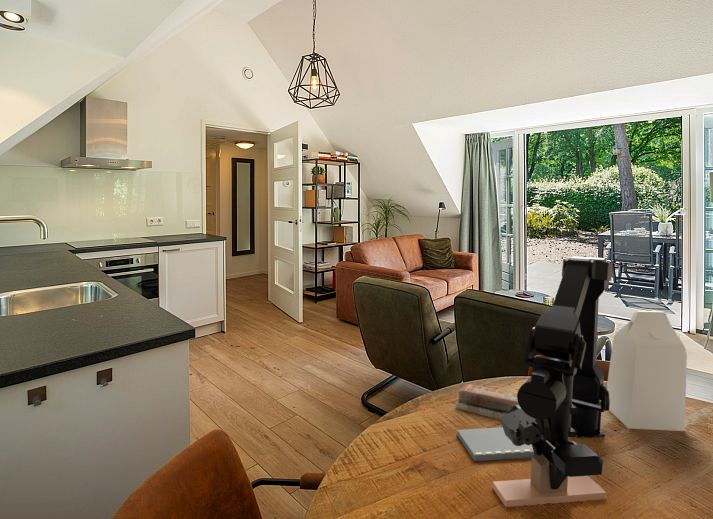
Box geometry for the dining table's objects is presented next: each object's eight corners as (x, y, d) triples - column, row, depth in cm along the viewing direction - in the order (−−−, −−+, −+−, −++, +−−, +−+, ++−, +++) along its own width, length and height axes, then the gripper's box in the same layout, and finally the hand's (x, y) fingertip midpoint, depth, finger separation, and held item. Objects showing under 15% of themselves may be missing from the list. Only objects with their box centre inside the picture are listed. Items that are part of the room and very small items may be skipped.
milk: (654, 407, 106) (662, 306, 104) (684, 431, 95) (694, 318, 92) (604, 405, 108) (610, 305, 105) (628, 428, 96) (636, 316, 94)
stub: (586, 480, 77) (588, 448, 77) (605, 499, 72) (608, 465, 72) (492, 487, 75) (493, 454, 75) (505, 507, 70) (506, 472, 70)
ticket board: (534, 430, 95) (534, 424, 95) (560, 455, 85) (560, 449, 85) (457, 435, 93) (457, 429, 93) (474, 461, 83) (474, 454, 83)
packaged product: (454, 391, 106) (467, 378, 114) (454, 410, 106) (466, 395, 115) (531, 409, 96) (538, 393, 105) (530, 429, 97) (537, 412, 105)
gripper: (485, 377, 80) (482, 455, 82) (537, 426, 62) (533, 525, 63) (540, 375, 81) (536, 451, 83) (608, 422, 63) (602, 519, 65)
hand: (548, 482), depth 73 cm, fingers closed on stub, 3 cm apart
